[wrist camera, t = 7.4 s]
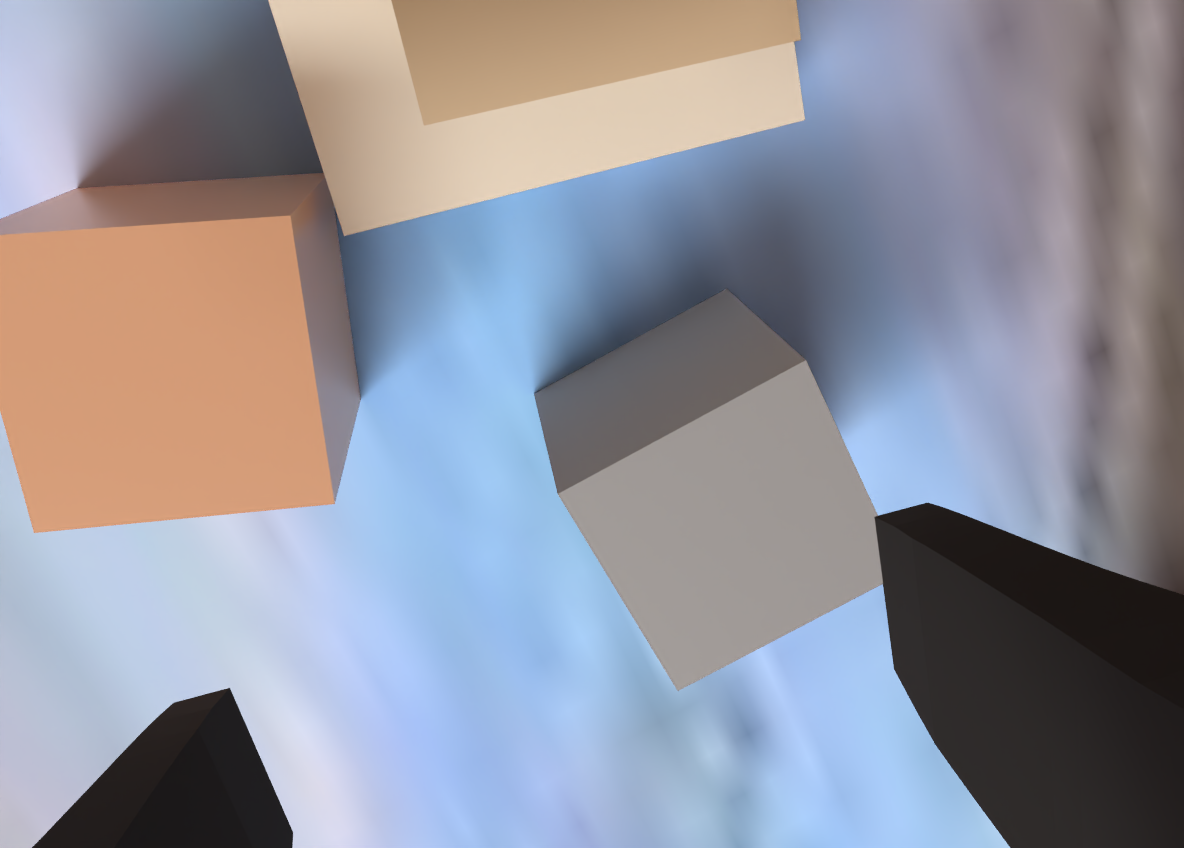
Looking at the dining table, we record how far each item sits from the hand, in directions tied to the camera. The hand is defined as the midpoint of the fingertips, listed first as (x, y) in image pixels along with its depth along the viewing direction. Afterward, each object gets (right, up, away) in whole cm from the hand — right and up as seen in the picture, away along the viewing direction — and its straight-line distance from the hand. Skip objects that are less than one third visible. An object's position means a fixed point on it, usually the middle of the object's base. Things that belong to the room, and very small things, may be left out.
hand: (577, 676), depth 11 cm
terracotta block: (-7, +5, +8) cm, 12 cm away
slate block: (+2, +3, +11) cm, 11 cm away
